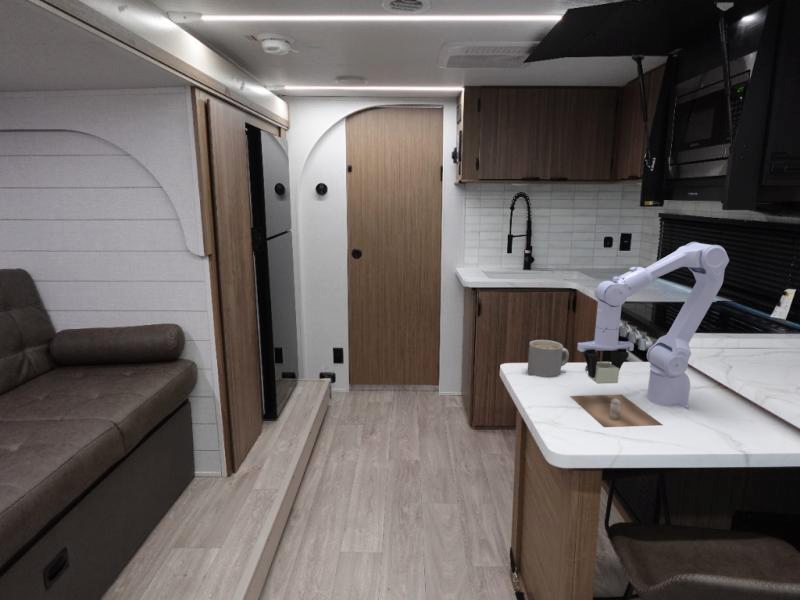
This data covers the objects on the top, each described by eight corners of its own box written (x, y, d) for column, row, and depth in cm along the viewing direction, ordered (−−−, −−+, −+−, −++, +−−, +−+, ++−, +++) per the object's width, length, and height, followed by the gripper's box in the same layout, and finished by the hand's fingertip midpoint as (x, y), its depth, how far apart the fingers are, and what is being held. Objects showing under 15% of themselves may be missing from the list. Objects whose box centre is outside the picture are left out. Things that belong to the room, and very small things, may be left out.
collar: (607, 375, 137) (608, 361, 136) (617, 383, 131) (619, 368, 130) (587, 376, 136) (588, 362, 135) (597, 383, 131) (598, 369, 130)
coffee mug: (535, 381, 151) (537, 349, 149) (522, 370, 161) (524, 340, 159) (576, 379, 153) (579, 348, 151) (561, 368, 163) (564, 339, 161)
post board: (621, 397, 139) (623, 377, 138) (662, 428, 121) (665, 405, 119) (569, 399, 138) (571, 378, 136) (603, 431, 119) (605, 407, 118)
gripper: (625, 322, 135) (620, 370, 138) (574, 323, 134) (570, 371, 137) (640, 329, 128) (634, 379, 131) (586, 330, 127) (581, 381, 130)
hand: (602, 376), depth 133 cm, fingers closed on collar, 6 cm apart
